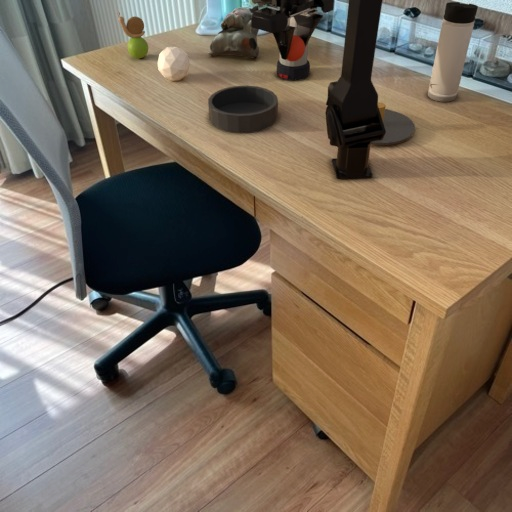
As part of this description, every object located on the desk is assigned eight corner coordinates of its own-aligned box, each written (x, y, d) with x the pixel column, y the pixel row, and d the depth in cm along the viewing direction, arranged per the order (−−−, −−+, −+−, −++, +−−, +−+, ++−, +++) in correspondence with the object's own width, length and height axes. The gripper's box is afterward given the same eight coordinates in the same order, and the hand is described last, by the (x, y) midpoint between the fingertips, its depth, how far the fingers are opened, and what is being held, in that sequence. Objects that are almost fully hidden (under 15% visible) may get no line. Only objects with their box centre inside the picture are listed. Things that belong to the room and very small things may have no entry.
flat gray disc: (423, 146, 103) (428, 121, 99) (345, 149, 102) (348, 124, 99) (403, 111, 114) (407, 87, 111) (333, 114, 114) (335, 90, 110)
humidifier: (276, 81, 128) (277, -35, 111) (276, 68, 134) (277, -44, 118) (310, 80, 127) (316, -35, 111) (308, 67, 134) (314, -44, 117)
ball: (305, 64, 107) (306, 39, 103) (281, 65, 106) (281, 40, 103) (303, 55, 110) (304, 30, 107) (279, 56, 110) (279, 31, 107)
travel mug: (424, 99, 118) (443, 4, 105) (431, 88, 123) (450, -5, 110) (452, 105, 116) (475, 8, 103) (458, 93, 121) (481, -1, 107)
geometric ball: (185, 89, 132) (198, 68, 125) (154, 84, 127) (166, 62, 121) (180, 65, 134) (192, 43, 128) (150, 59, 130) (161, 36, 123)
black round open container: (280, 131, 108) (280, 114, 106) (209, 134, 108) (207, 117, 106) (274, 100, 119) (274, 84, 117) (210, 103, 119) (208, 86, 117)
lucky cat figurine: (199, 54, 141) (207, -1, 138) (237, 64, 148) (245, 11, 145) (228, 54, 130) (237, -7, 126) (267, 64, 137) (277, 6, 133)
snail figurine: (123, 56, 142) (114, 9, 134) (146, 52, 144) (139, 5, 136) (128, 63, 138) (119, 15, 130) (152, 59, 140) (145, 11, 132)
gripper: (293, -45, 107) (291, 34, 117) (228, -27, 97) (232, 59, 107) (338, -37, 101) (332, 46, 111) (273, -16, 91) (273, 73, 101)
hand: (292, 55), depth 108 cm, fingers closed on ball, 5 cm apart
